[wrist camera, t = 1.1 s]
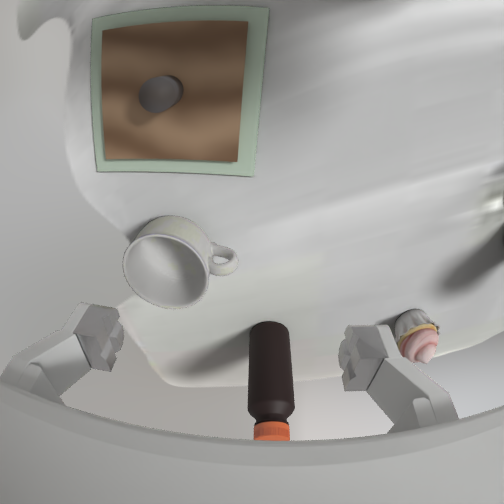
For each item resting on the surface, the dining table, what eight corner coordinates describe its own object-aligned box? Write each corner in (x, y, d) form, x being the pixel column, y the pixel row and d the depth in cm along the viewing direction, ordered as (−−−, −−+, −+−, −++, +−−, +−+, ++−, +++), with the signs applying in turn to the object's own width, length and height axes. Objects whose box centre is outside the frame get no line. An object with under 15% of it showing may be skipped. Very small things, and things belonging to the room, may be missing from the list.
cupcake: (384, 340, 54) (397, 383, 46) (390, 307, 49) (407, 353, 40) (425, 331, 53) (442, 370, 45) (435, 298, 48) (457, 339, 39)
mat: (94, 19, 24) (92, 18, 23) (269, 8, 24) (269, 7, 24) (99, 170, 35) (97, 171, 35) (253, 175, 36) (253, 176, 35)
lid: (106, 30, 24) (84, 29, 20) (248, 22, 25) (246, 15, 21) (109, 156, 34) (91, 171, 30) (237, 159, 34) (234, 174, 30)
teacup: (144, 266, 44) (128, 304, 38) (137, 201, 38) (114, 234, 31) (237, 275, 45) (233, 316, 38) (243, 209, 39) (240, 244, 32)
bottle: (245, 341, 54) (241, 446, 37) (255, 317, 50) (253, 431, 34) (281, 347, 55) (286, 449, 38) (294, 323, 51) (304, 434, 34)
